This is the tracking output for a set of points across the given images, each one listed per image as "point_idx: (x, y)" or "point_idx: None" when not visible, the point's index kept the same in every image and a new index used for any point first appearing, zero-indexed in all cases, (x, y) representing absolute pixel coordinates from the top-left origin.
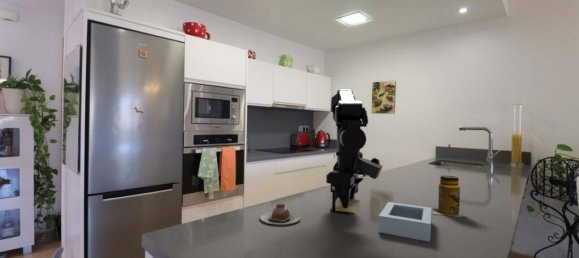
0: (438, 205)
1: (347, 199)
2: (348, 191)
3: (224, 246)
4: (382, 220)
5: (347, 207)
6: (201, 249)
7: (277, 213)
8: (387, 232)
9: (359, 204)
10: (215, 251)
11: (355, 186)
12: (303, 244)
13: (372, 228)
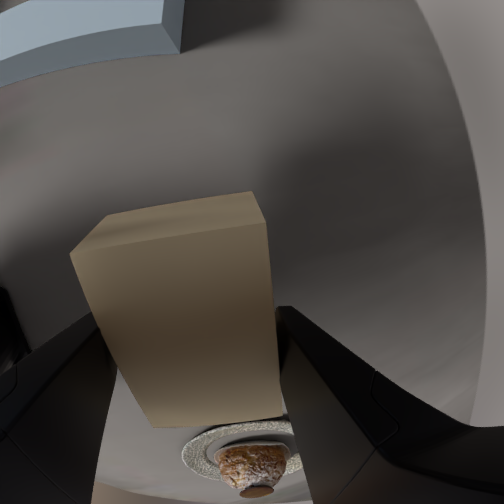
0: None
1: (349, 358)
2: (439, 420)
3: (454, 413)
4: (170, 7)
5: (284, 306)
6: (462, 420)
7: (284, 470)
8: (183, 4)
9: (129, 228)
10: (470, 406)
11: (13, 435)
12: (446, 318)
13: (129, 101)
